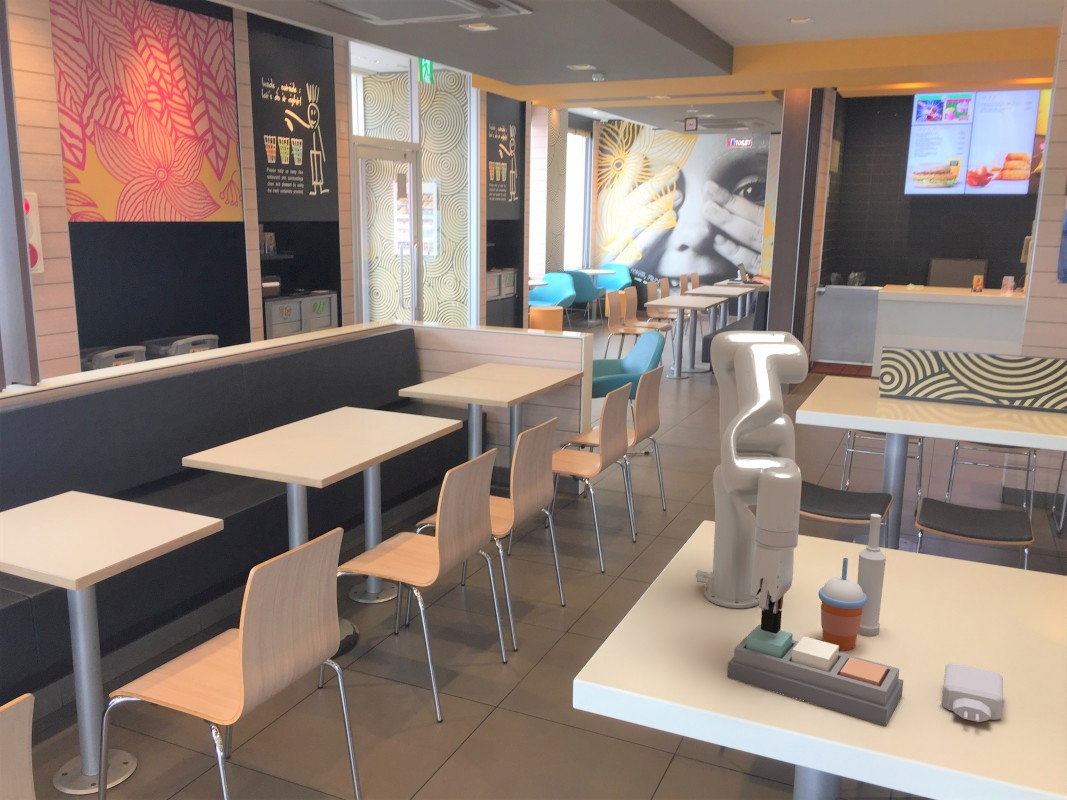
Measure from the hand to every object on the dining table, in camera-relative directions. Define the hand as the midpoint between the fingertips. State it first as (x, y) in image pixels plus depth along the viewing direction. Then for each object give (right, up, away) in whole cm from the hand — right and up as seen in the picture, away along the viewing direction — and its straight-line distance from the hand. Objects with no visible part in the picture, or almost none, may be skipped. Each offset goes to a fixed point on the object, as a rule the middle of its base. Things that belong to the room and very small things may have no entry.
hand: (770, 630), depth 162 cm
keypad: (+7, -9, -3) cm, 12 cm away
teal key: (0, -4, +1) cm, 4 cm away
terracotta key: (+14, -8, -8) cm, 18 cm away
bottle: (+25, -5, +20) cm, 32 cm away
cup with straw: (+17, -7, +14) cm, 23 cm away
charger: (+32, -12, -10) cm, 35 cm away
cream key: (+7, -5, -4) cm, 9 cm away
